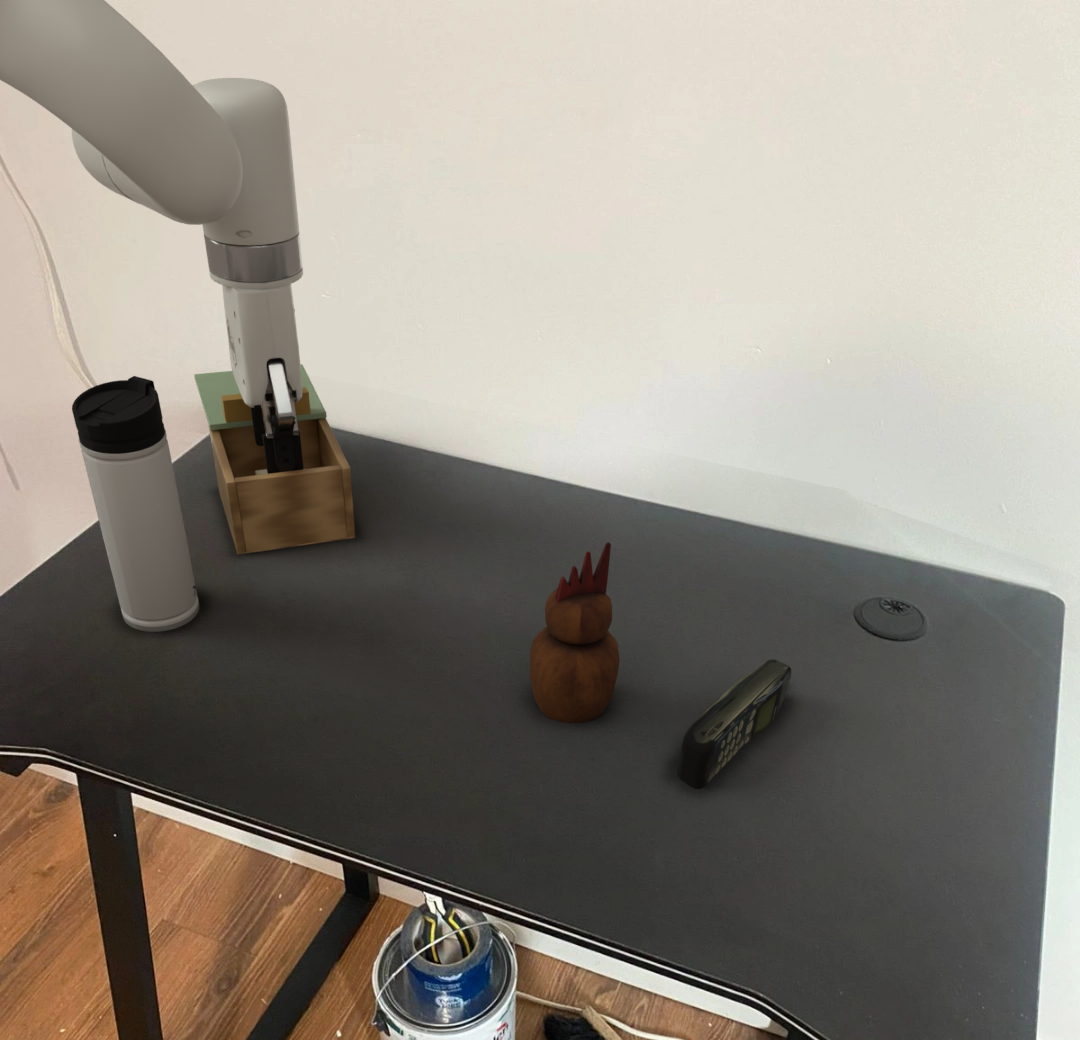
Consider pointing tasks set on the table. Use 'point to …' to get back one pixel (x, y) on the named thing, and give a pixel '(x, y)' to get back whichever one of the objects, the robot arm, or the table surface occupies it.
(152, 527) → the travel mug
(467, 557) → the table surface
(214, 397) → the slide door
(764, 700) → the mobile phone
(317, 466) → the oak box
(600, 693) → the wooden figurine
